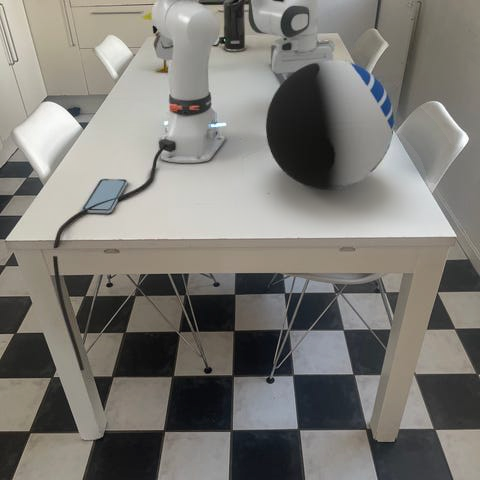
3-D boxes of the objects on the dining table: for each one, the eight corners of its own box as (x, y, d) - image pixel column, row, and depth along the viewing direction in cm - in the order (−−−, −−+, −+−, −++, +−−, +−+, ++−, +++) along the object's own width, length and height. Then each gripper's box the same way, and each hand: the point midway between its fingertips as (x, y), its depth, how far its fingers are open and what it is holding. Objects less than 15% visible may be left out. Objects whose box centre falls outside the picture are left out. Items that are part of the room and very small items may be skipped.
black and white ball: (400, 209, 120) (424, 81, 103) (272, 216, 119) (274, 88, 101) (366, 153, 144) (380, 42, 127) (260, 158, 143) (260, 47, 126)
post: (308, 109, 173) (309, 86, 168) (296, 110, 172) (297, 86, 168) (280, 64, 215) (281, 44, 210) (270, 65, 215) (271, 45, 210)
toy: (155, 65, 218) (148, 2, 203) (198, 69, 211) (194, 5, 197) (145, 70, 212) (137, 6, 198) (190, 75, 205) (185, 9, 191)
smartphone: (80, 210, 121) (100, 178, 133) (81, 213, 122) (101, 181, 134) (110, 211, 121) (128, 179, 133) (111, 214, 121) (128, 182, 133)
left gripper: (332, 36, 168) (329, 78, 176) (270, 41, 167) (270, 83, 175) (337, 41, 163) (334, 84, 171) (273, 46, 162) (273, 89, 170)
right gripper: (296, -21, 196) (294, 24, 205) (259, -20, 195) (259, 26, 204) (300, -18, 190) (298, 28, 199) (262, -16, 188) (262, 30, 198)
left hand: (301, 83), depth 173 cm, fingers open, 8 cm apart
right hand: (278, 27), depth 201 cm, fingers open, 8 cm apart
